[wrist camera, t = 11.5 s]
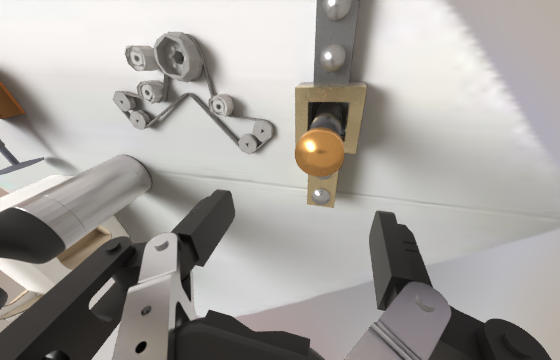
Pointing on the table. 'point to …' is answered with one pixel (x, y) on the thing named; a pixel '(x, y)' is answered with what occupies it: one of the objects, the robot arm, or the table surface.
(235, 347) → the robot arm
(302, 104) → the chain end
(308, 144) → the pin
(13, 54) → the table surface
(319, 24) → the chain end
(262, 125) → the pulley system
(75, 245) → the white open frame
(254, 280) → the table surface
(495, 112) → the table surface
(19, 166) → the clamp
